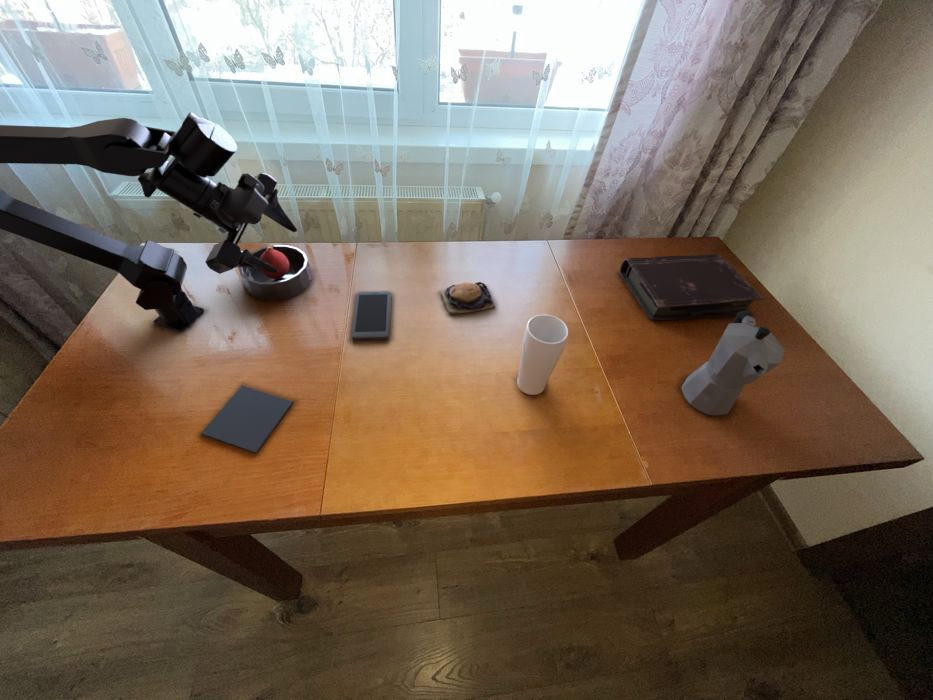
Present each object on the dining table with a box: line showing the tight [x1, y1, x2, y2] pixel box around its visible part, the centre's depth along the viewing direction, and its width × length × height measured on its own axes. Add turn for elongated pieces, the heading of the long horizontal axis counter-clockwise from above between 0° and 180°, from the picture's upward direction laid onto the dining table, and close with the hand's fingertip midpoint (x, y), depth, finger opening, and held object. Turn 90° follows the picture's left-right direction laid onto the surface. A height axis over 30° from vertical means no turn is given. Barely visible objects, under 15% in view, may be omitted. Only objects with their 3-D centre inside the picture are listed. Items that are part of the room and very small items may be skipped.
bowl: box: [238, 244, 313, 302], centre depth 87 cm, size 14×14×4 cm
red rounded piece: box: [260, 245, 289, 279], centre depth 86 cm, size 6×6×8 cm
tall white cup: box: [516, 313, 569, 396], centre depth 69 cm, size 7×7×15 cm
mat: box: [200, 384, 294, 454], centre depth 66 cm, size 10×10×1 cm
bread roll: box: [440, 281, 495, 315], centre depth 87 cm, size 11×8×4 cm
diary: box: [618, 253, 764, 321], centre depth 93 cm, size 19×25×5 cm
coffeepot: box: [680, 309, 786, 417], centre depth 69 cm, size 15×9×18 cm, turn 162°
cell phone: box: [351, 290, 392, 341], centre depth 83 cm, size 7×14×1 cm, turn 6°
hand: (286, 251), depth 75 cm, fingers open, 9 cm apart
